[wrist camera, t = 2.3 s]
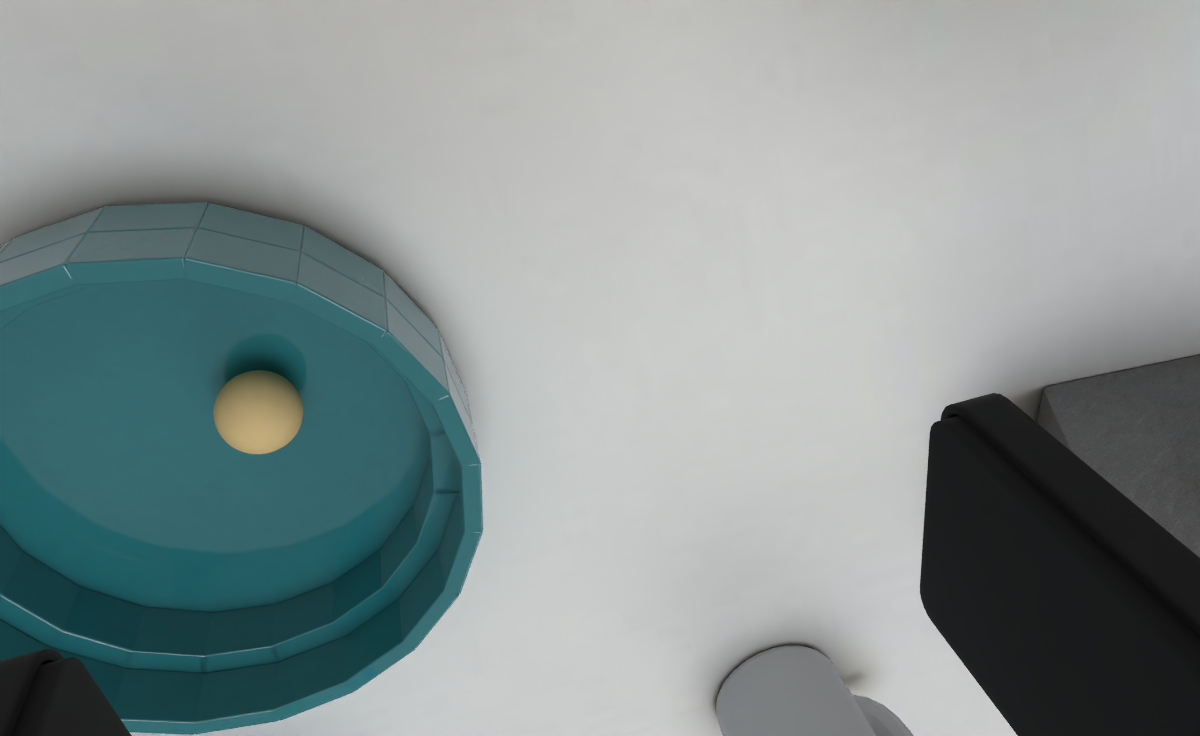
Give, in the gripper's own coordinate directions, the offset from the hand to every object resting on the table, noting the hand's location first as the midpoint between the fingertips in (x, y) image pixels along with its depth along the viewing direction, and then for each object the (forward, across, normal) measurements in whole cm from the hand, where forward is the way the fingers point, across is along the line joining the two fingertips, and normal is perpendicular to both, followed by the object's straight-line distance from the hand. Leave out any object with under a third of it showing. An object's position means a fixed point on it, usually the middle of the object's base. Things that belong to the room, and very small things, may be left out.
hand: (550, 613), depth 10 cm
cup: (+24, -12, +35) cm, 45 cm away
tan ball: (+23, +8, +9) cm, 26 cm away
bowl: (+24, +11, +11) cm, 28 cm away
